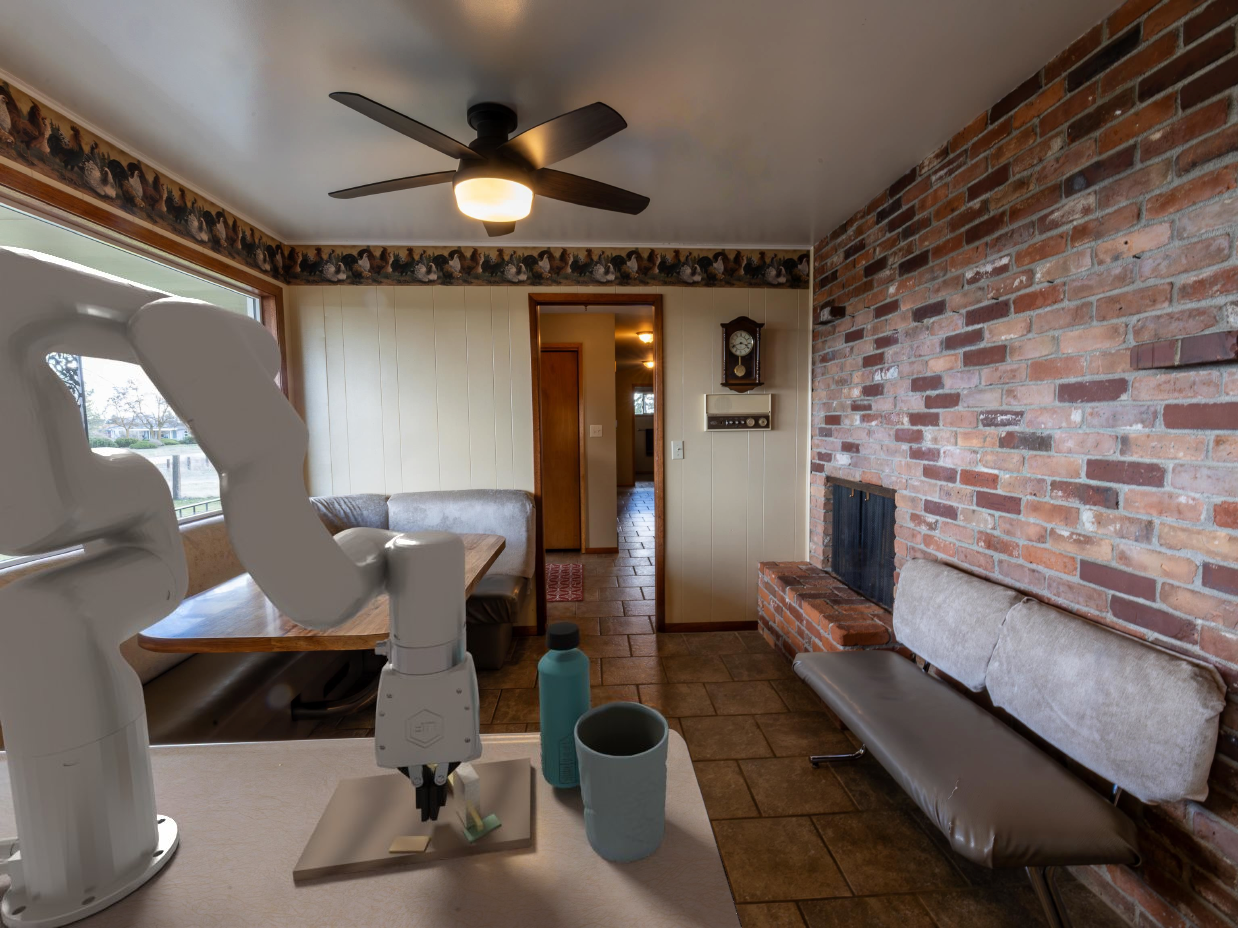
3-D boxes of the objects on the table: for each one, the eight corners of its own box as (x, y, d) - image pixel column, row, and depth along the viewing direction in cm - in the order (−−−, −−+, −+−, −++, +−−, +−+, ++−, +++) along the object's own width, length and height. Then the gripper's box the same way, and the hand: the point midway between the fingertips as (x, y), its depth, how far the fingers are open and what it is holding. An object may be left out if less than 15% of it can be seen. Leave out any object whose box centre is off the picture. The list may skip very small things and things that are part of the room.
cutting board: (293, 880, 52) (291, 861, 51) (340, 787, 64) (339, 772, 64) (530, 846, 55) (529, 828, 55) (530, 764, 68) (530, 750, 68)
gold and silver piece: (423, 770, 65) (420, 731, 65) (454, 757, 67) (453, 720, 67) (462, 847, 53) (460, 800, 53) (499, 828, 56) (497, 784, 55)
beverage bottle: (586, 804, 61) (582, 640, 59) (532, 797, 62) (527, 635, 60) (599, 767, 67) (596, 617, 65) (550, 761, 69) (546, 614, 67)
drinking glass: (675, 866, 52) (675, 754, 51) (574, 872, 52) (572, 759, 51) (662, 793, 63) (661, 698, 61) (577, 797, 62) (575, 701, 61)
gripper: (340, 671, 50) (346, 848, 52) (499, 661, 53) (500, 830, 54) (364, 638, 58) (369, 794, 59) (503, 631, 60) (503, 780, 62)
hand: (431, 811), depth 57 cm, fingers closed
